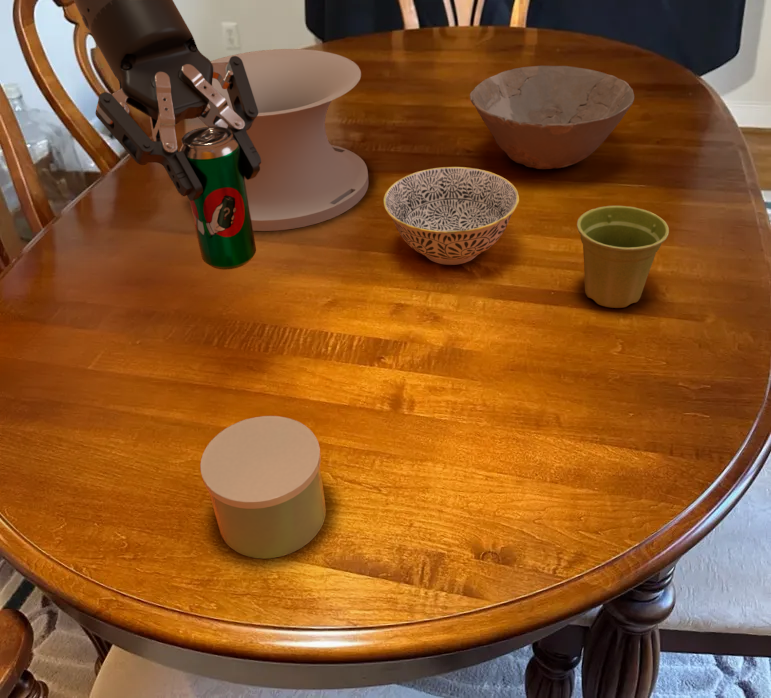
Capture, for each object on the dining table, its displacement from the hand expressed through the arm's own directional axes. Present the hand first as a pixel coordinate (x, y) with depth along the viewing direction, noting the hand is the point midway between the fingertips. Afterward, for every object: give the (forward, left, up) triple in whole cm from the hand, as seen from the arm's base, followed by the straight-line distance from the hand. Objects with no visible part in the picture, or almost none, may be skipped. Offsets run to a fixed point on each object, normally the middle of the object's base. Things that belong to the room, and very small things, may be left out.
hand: (226, 184), depth 69 cm
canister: (-2, -19, -21) cm, 28 cm away
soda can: (-1, +2, -8) cm, 9 cm away
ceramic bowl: (+48, +36, -22) cm, 64 cm away
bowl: (+26, +16, -22) cm, 38 cm away
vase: (+9, +41, -22) cm, 47 cm away
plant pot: (+40, +1, -22) cm, 45 cm away
